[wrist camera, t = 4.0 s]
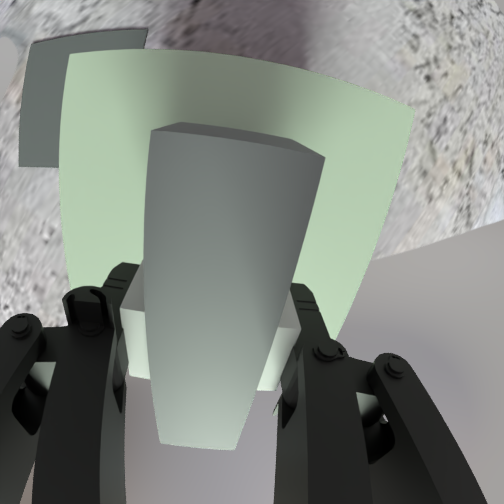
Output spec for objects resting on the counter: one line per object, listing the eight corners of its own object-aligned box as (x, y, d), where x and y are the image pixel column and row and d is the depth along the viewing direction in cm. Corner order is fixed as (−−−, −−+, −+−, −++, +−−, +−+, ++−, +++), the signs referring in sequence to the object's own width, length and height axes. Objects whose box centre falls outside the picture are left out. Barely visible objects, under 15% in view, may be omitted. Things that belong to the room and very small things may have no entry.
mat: (32, 44, 22) (30, 44, 22) (148, 29, 24) (147, 29, 24) (20, 166, 30) (18, 166, 29) (126, 171, 32) (125, 171, 32)
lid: (79, 56, 10) (-55, 40, 2) (405, 108, 12) (545, 138, 4) (85, 324, 18) (39, 431, 10) (320, 352, 20) (354, 461, 12)
